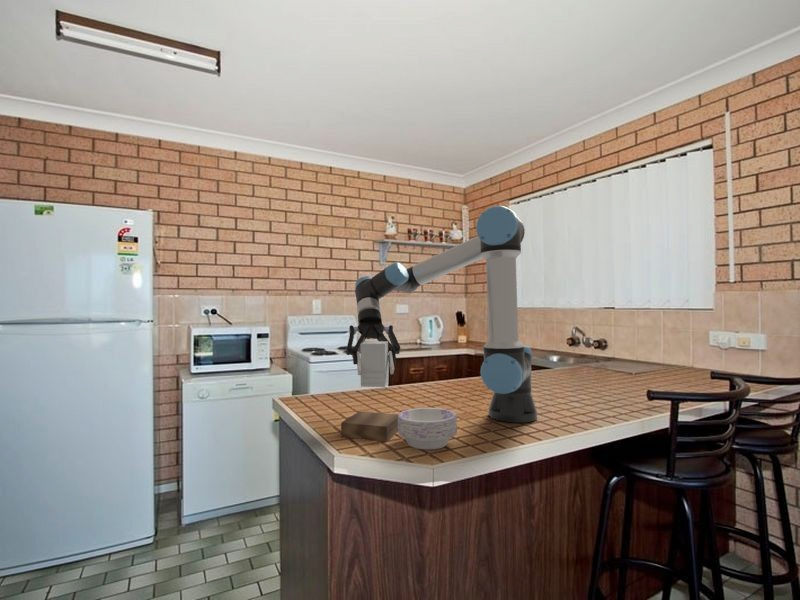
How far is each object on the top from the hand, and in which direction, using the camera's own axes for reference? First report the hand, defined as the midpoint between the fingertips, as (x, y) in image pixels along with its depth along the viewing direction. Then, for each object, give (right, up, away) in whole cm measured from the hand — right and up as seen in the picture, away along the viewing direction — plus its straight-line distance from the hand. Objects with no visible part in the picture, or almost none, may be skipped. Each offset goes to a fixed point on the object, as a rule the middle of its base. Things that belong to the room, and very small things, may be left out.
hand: (376, 371), depth 123 cm
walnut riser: (-1, -16, -3) cm, 17 cm away
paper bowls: (+14, -17, -13) cm, 25 cm away
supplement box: (-1, -5, +3) cm, 6 cm away
